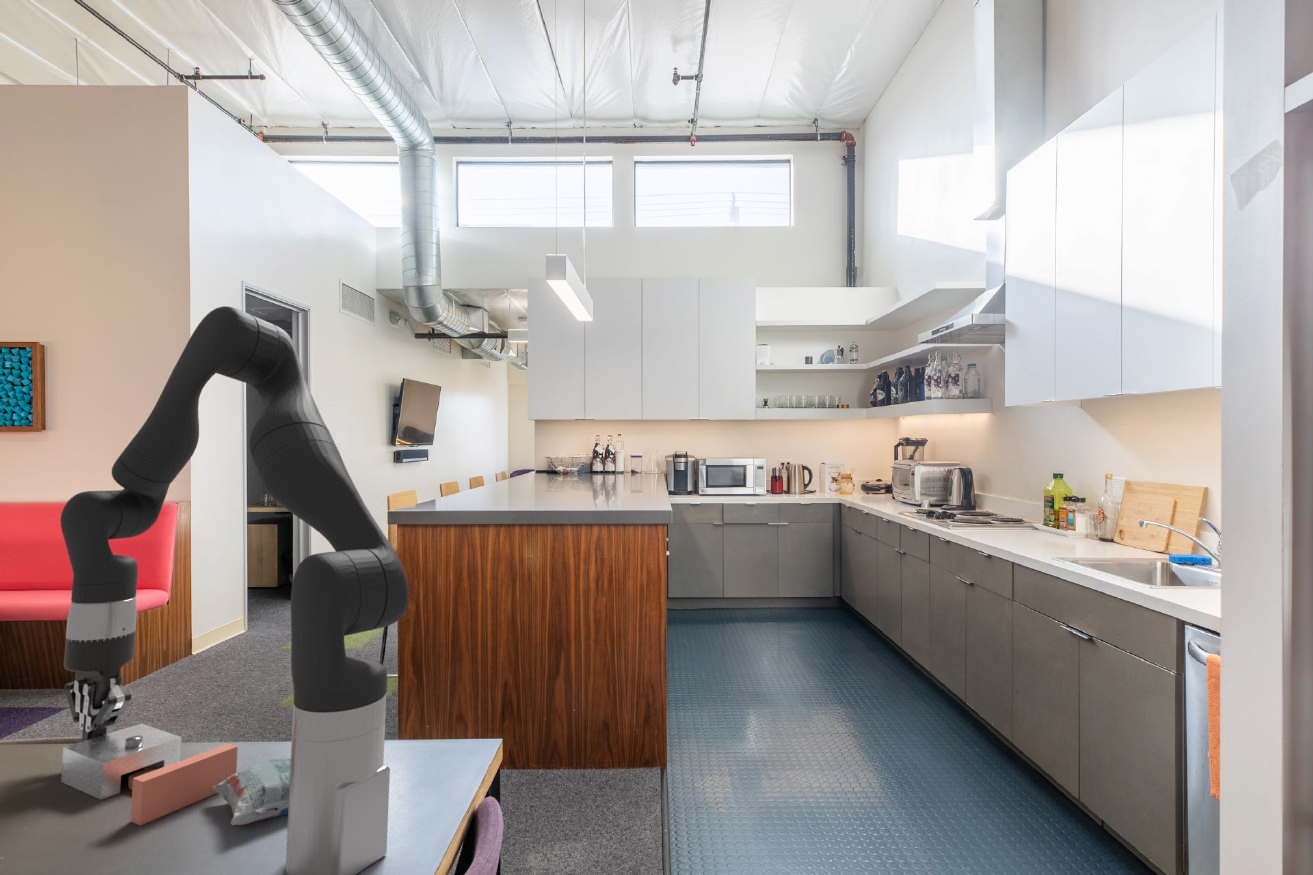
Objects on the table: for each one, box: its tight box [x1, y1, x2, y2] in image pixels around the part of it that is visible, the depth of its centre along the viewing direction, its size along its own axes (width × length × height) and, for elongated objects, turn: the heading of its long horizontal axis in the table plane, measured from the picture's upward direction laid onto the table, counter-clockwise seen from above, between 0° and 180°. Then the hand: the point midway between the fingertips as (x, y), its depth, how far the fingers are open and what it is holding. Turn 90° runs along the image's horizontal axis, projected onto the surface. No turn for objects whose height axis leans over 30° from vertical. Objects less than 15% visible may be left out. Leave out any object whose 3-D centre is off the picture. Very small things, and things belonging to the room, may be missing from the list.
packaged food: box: [213, 758, 291, 826], centre depth 79 cm, size 9×12×5 cm
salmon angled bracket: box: [127, 743, 239, 826], centre depth 83 cm, size 12×11×5 cm
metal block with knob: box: [60, 723, 183, 801], centre depth 87 cm, size 10×9×6 cm
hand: (92, 755), depth 90 cm, fingers closed
